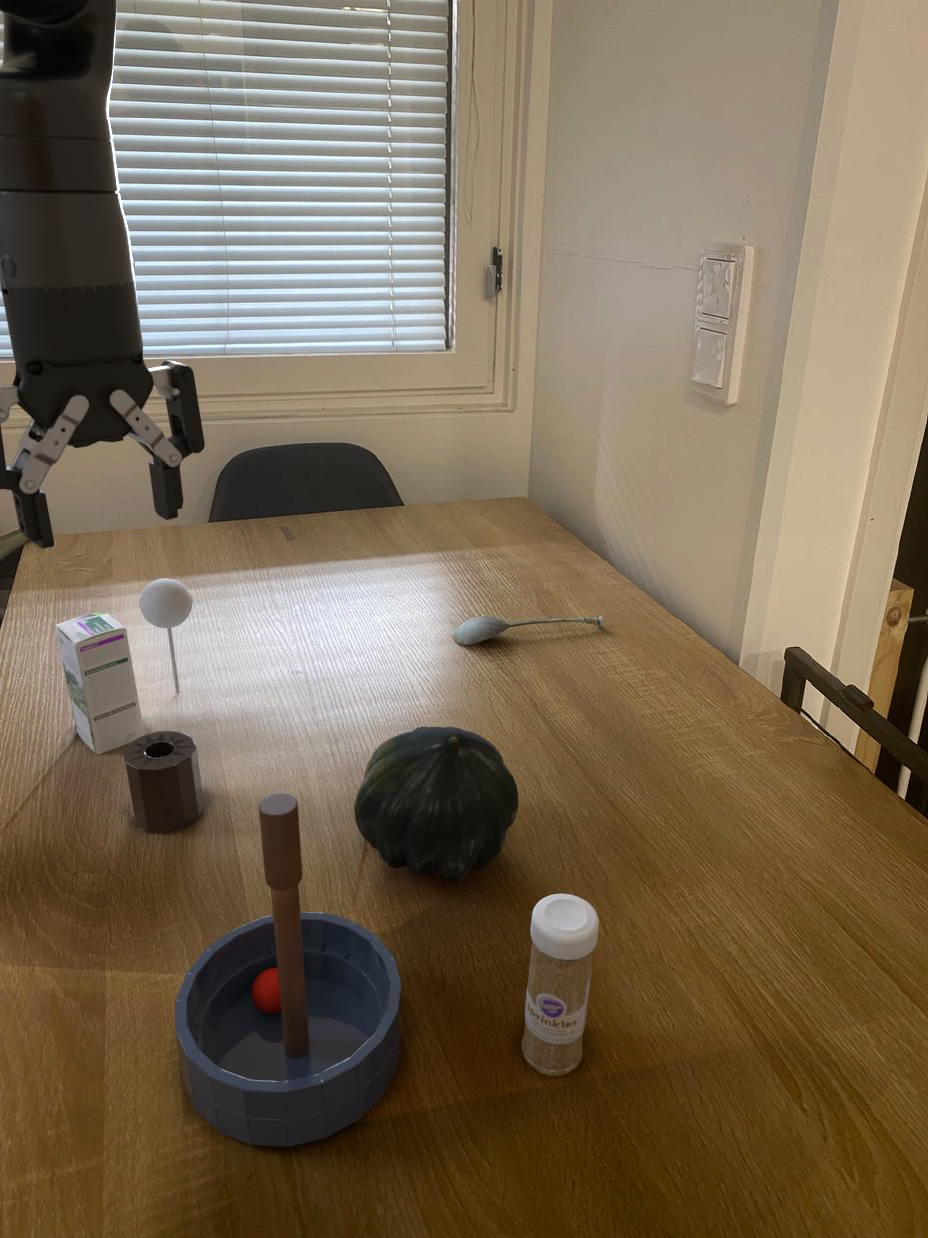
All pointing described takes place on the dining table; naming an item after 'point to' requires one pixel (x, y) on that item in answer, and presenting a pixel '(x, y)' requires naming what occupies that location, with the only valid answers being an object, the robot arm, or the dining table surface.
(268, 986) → the cherry tomato
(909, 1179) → the dining table surface
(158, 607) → the lollipop
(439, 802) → the squash
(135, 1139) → the dining table surface
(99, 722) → the syrup box
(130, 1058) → the dining table surface
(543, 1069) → the sprinkles bottle
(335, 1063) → the bowl
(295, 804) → the stirring stick
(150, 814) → the crock
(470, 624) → the soupspoon
